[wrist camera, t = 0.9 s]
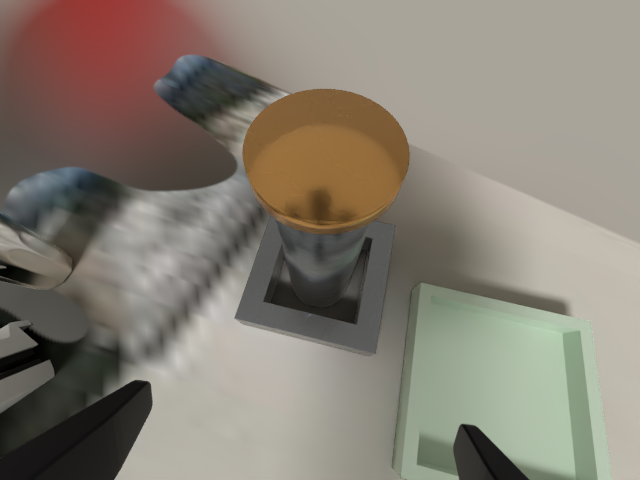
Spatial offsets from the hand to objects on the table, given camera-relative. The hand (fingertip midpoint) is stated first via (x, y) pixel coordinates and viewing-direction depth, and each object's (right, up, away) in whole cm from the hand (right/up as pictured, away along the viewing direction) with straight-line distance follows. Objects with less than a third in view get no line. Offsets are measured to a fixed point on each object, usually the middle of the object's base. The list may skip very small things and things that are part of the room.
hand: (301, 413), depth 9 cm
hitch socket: (+1, +2, +15) cm, 15 cm away
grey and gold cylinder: (+1, +2, +15) cm, 15 cm away
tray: (+12, -5, +12) cm, 18 cm away
